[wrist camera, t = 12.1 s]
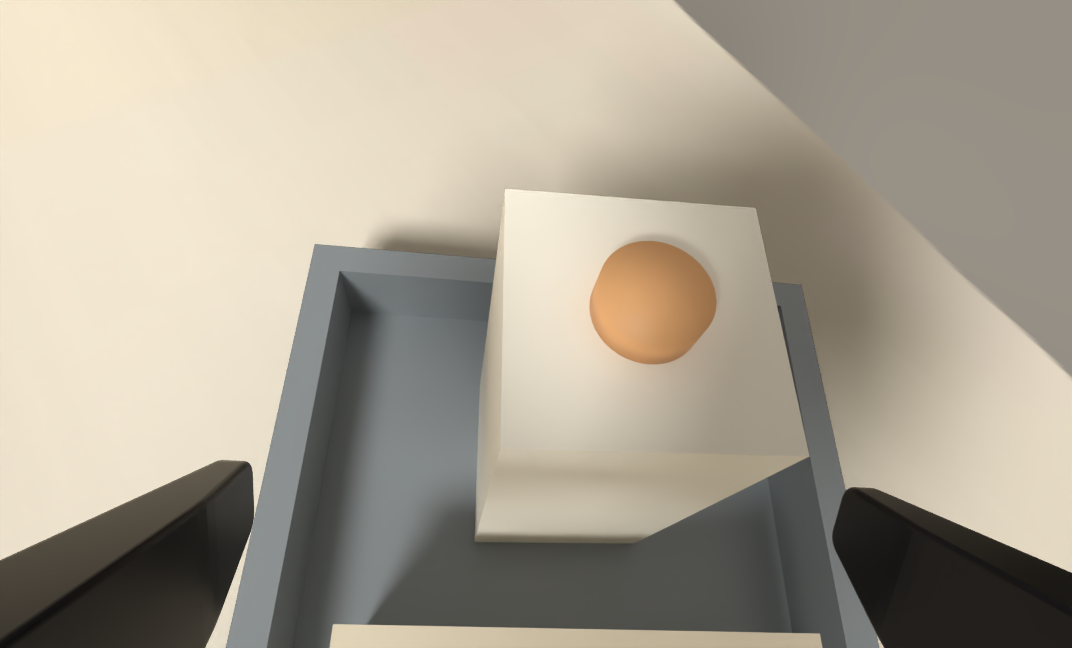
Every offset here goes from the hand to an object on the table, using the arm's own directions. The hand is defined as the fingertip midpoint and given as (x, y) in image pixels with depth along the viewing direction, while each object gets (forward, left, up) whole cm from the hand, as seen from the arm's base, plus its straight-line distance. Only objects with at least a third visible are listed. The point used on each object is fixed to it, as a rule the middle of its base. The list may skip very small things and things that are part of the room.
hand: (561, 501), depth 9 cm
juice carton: (+4, -2, -12) cm, 13 cm away
